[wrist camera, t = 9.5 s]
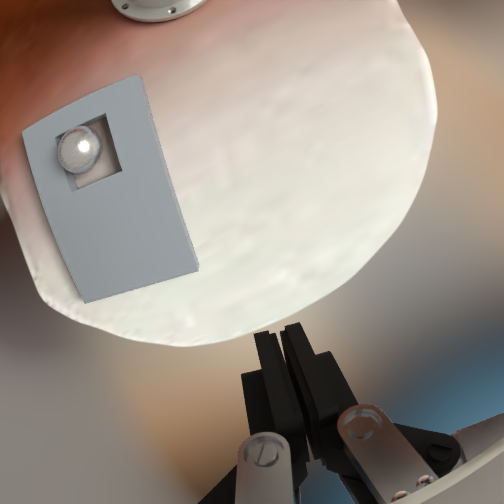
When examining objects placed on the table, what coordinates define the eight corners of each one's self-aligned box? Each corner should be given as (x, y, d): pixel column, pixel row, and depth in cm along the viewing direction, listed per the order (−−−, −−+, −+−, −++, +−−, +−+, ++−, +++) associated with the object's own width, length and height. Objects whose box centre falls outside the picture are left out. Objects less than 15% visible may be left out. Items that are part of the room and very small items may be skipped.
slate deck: (30, 131, 26) (21, 131, 24) (141, 77, 27) (137, 73, 25) (90, 296, 34) (84, 303, 33) (199, 263, 35) (198, 271, 33)
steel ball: (45, 151, 22) (68, 190, 26) (88, 128, 23) (109, 169, 27) (55, 132, 26) (74, 167, 29) (94, 111, 26) (111, 148, 30)
